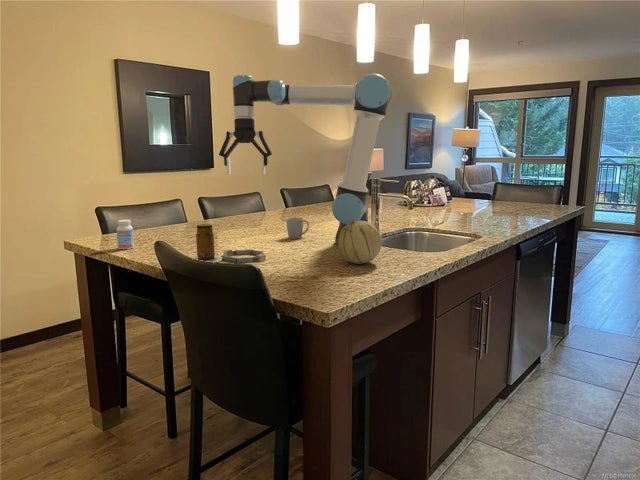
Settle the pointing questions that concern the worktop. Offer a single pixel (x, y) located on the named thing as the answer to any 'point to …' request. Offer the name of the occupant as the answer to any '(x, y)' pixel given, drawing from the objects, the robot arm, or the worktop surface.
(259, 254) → the collar
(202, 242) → the condiment
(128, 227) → the pill bottle
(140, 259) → the worktop surface
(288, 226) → the cup
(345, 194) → the robot arm
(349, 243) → the cantaloupe
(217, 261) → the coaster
